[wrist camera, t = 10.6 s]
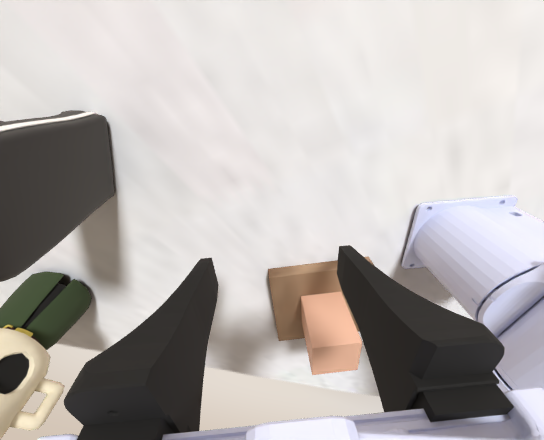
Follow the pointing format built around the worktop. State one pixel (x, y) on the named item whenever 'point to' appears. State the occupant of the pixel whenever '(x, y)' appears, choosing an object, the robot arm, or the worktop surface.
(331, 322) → the terracotta block
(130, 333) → the robot arm
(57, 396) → the character mug
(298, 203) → the worktop surface
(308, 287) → the walnut board
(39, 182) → the battery charger
